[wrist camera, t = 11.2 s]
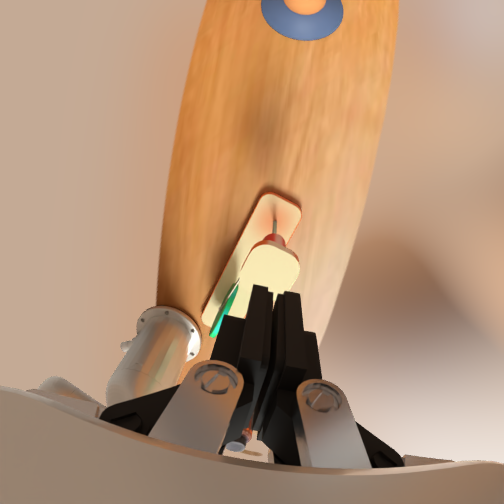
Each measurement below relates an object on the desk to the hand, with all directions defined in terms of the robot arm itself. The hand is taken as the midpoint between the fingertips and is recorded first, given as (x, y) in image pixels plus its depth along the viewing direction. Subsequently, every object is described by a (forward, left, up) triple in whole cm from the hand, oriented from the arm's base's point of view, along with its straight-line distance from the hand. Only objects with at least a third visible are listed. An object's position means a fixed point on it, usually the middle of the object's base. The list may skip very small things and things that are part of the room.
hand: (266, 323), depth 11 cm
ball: (+14, +24, -32) cm, 43 cm away
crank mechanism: (-9, -11, -35) cm, 38 cm away
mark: (+14, +24, -35) cm, 45 cm away
